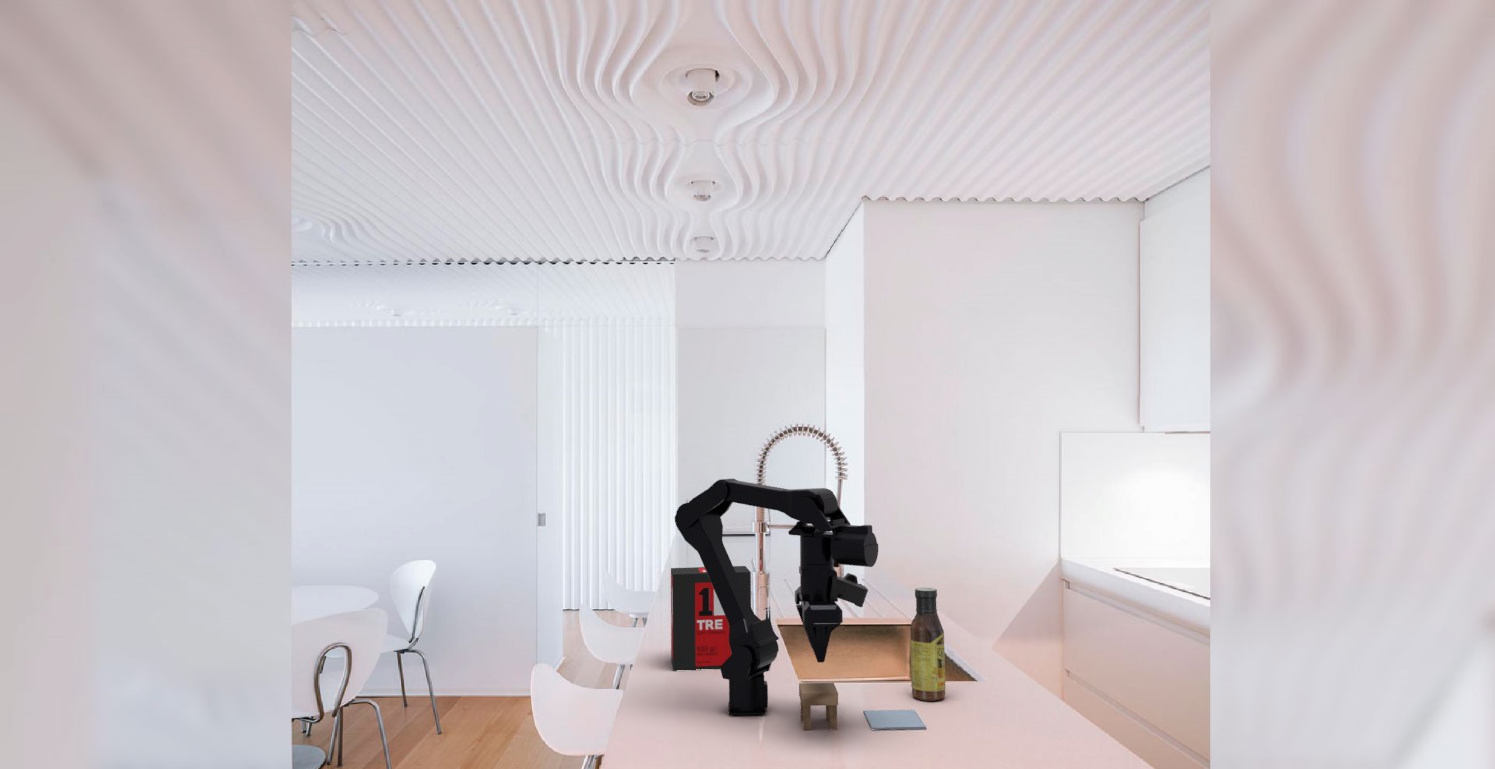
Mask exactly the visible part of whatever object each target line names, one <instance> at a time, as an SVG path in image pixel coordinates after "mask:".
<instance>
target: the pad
mask: <svg viewBox="0 0 1495 769" xmlns="http://www.w3.org/2000/svg"><path fill="white" fill-rule="evenodd" d="M863 714H864V716H866V717H865V719H866V718H867V719H866V721H867V720H868V721H867V722H869V723H868V724H870V725H869V727H870V726H871V727H870V729H871V728H872V729H911V730H927V726H926V725H925V723H924V722H923V720H922V718H921V717H920V715H919V714H918V713H917V711H916V710H915V709H878V710H877V709H876V710H871V709H870V710H869V709H868V710H863ZM872 729H871V730H872Z"/></svg>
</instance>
